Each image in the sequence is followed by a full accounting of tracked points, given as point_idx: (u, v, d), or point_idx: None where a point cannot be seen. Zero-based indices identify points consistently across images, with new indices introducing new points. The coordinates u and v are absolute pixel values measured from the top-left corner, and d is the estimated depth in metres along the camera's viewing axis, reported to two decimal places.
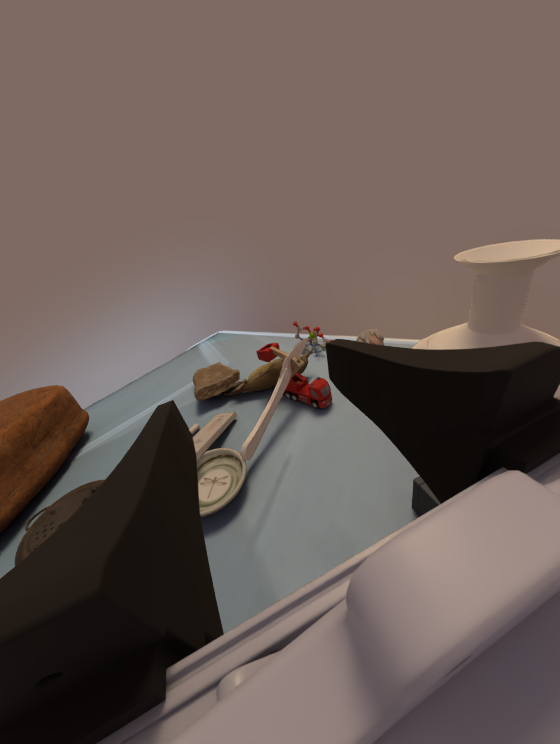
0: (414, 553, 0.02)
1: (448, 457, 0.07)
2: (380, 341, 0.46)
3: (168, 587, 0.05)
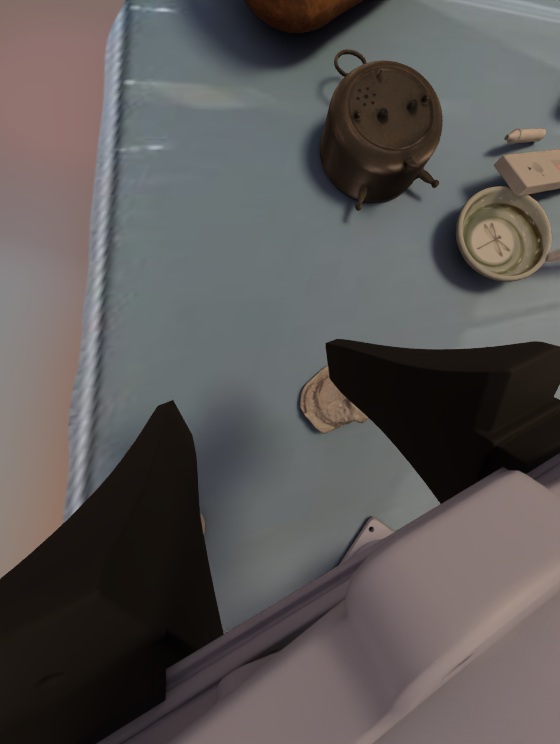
0: (414, 554, 0.02)
1: (448, 457, 0.07)
2: None
3: (168, 587, 0.05)
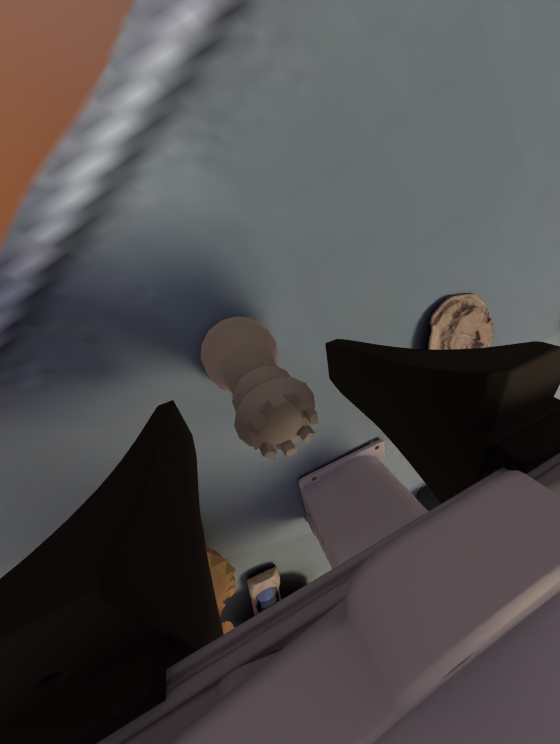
0: (414, 554, 0.02)
1: (448, 457, 0.07)
2: None
3: (168, 587, 0.05)
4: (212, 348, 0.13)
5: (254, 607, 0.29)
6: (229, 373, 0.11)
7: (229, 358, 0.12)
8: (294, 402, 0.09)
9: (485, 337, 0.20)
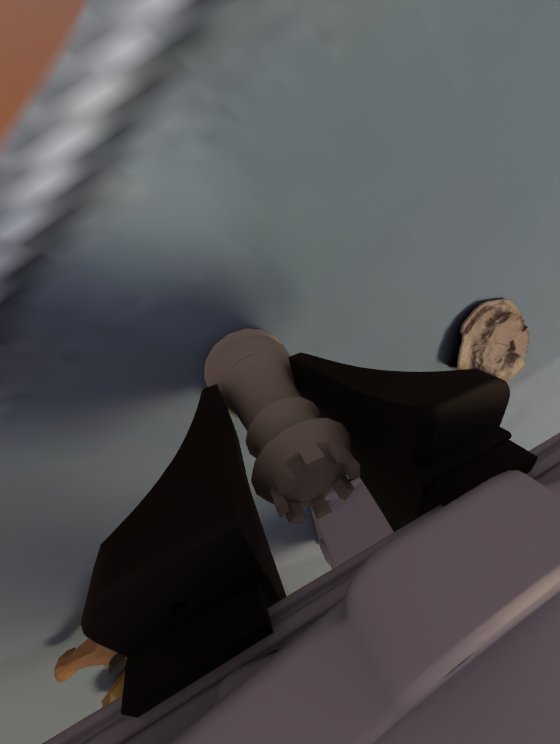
0: (414, 554, 0.02)
1: (394, 487, 0.07)
2: None
3: (257, 540, 0.05)
4: (218, 368, 0.11)
5: None
6: (240, 401, 0.09)
7: (240, 382, 0.10)
8: (332, 454, 0.06)
9: (520, 347, 0.18)
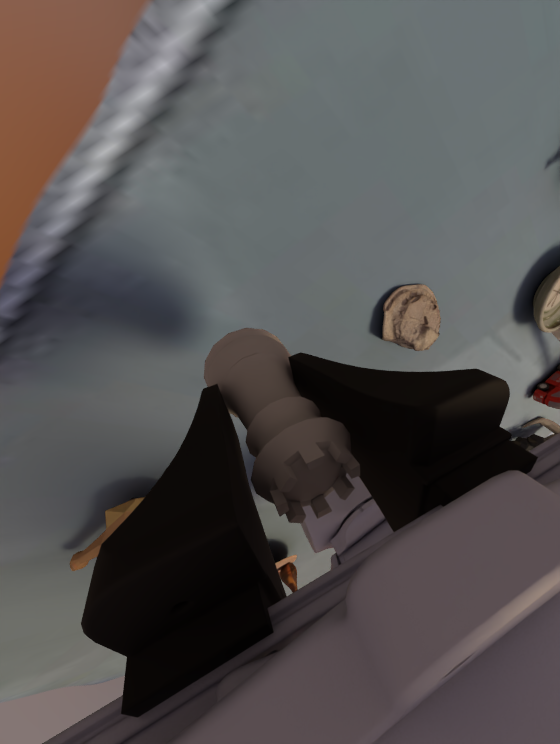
0: (414, 553, 0.02)
1: (394, 487, 0.07)
2: None
3: (257, 540, 0.05)
4: (218, 368, 0.11)
5: None
6: (240, 401, 0.09)
7: (240, 382, 0.10)
8: (331, 453, 0.06)
9: (432, 322, 0.23)
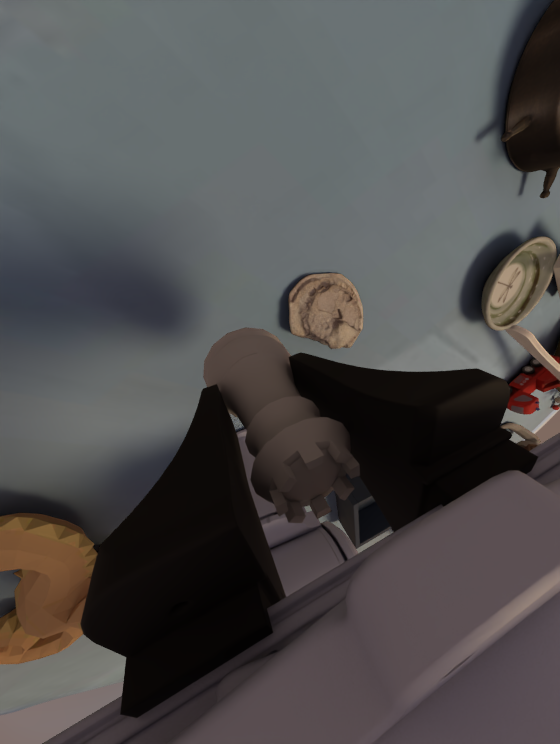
0: (414, 553, 0.02)
1: (394, 487, 0.07)
2: None
3: (256, 540, 0.05)
4: (218, 367, 0.11)
5: None
6: (240, 401, 0.09)
7: (239, 382, 0.10)
8: (331, 453, 0.06)
9: (349, 316, 0.21)
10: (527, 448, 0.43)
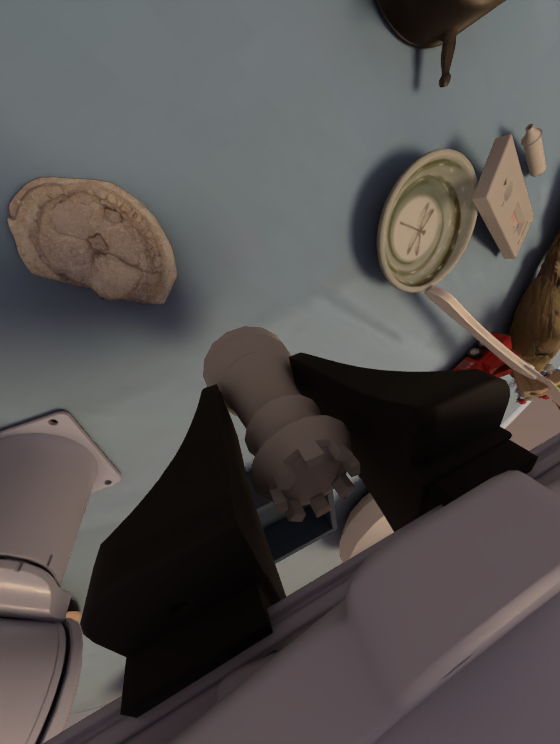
0: (414, 553, 0.02)
1: (394, 487, 0.07)
2: None
3: (256, 540, 0.05)
4: (217, 366, 0.11)
5: None
6: (240, 399, 0.09)
7: (239, 380, 0.10)
8: (331, 451, 0.06)
9: (122, 247, 0.13)
10: None
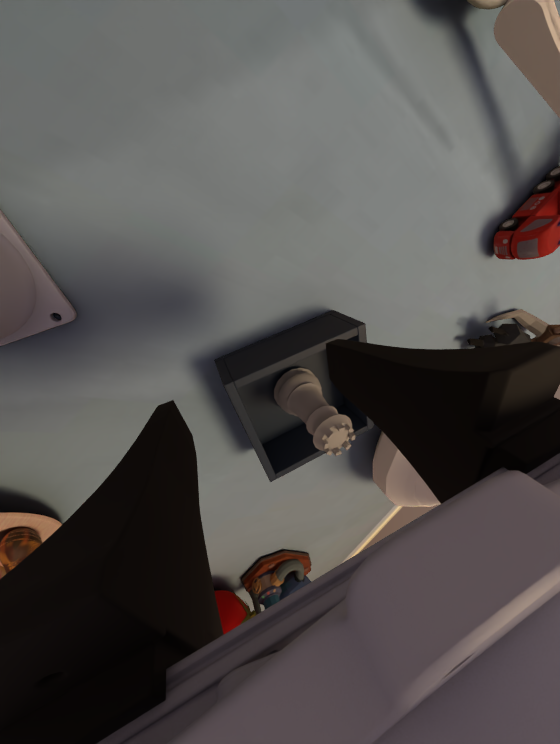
0: (414, 553, 0.02)
1: (448, 457, 0.07)
2: None
3: (168, 587, 0.05)
4: (288, 386, 0.21)
5: None
6: (302, 404, 0.20)
7: (301, 395, 0.20)
8: (346, 428, 0.17)
9: None
10: (546, 333, 0.28)
